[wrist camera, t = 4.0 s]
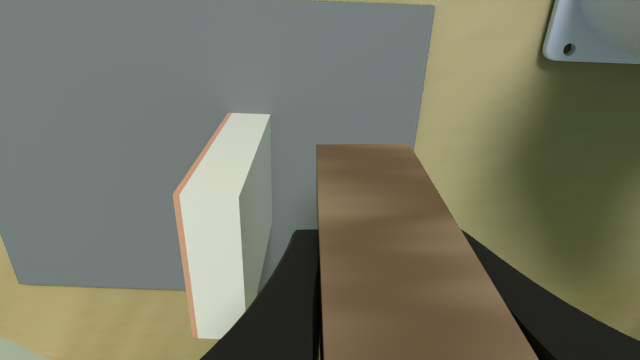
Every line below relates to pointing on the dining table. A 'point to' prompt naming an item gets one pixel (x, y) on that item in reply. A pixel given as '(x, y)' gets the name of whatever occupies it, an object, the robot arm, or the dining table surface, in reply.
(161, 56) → the mat
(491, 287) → the block
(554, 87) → the dining table surface
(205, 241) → the tile
